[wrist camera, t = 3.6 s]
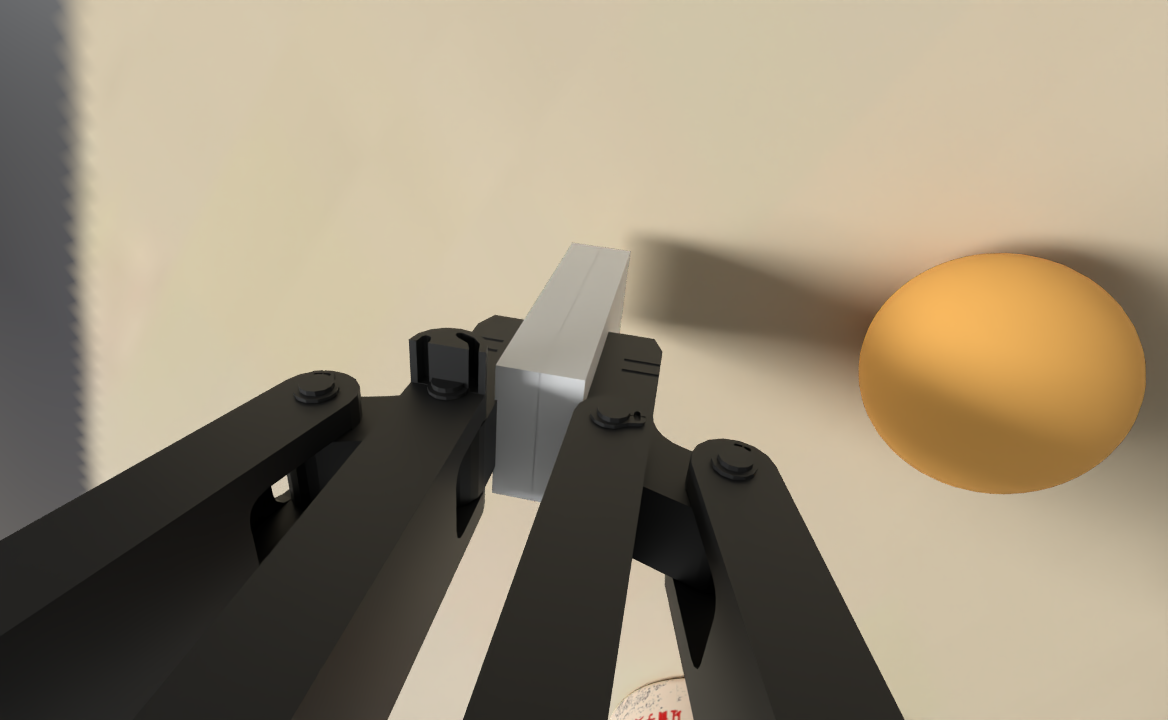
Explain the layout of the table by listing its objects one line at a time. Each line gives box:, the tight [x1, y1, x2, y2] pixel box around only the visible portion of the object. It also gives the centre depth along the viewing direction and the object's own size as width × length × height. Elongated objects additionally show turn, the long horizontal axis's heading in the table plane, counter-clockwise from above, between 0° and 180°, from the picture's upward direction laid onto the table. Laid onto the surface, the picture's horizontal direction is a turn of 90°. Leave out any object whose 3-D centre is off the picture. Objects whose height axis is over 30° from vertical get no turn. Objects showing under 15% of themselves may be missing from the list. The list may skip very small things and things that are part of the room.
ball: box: [859, 253, 1146, 494], centre depth 15 cm, size 6×6×6 cm
